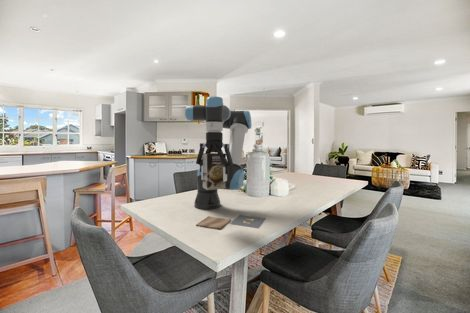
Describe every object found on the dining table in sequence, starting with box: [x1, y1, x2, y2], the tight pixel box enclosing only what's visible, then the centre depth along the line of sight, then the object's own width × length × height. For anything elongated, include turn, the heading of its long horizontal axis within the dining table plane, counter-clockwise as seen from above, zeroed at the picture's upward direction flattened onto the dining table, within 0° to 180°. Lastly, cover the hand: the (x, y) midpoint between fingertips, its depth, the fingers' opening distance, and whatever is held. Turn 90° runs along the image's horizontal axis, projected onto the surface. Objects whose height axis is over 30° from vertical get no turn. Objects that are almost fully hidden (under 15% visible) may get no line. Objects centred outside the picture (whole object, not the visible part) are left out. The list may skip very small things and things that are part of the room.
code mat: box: [229, 214, 267, 229], centre depth 112 cm, size 14×14×1 cm
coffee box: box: [202, 152, 227, 190], centre depth 107 cm, size 9×6×16 cm
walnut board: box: [195, 216, 232, 231], centre depth 109 cm, size 12×12×1 cm
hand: (214, 180), depth 107 cm, fingers closed on coffee box, 10 cm apart
